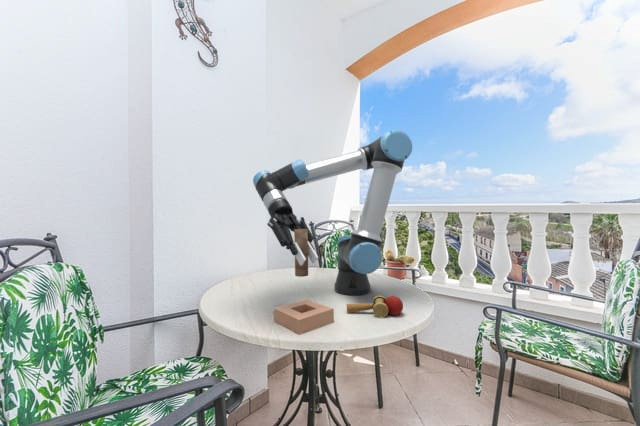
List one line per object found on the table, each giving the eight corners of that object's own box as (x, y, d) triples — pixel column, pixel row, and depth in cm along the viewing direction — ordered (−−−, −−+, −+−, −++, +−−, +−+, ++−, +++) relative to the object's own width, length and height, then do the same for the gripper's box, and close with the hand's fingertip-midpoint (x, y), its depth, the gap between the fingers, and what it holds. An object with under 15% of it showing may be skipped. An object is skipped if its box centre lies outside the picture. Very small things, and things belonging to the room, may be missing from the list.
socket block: (307, 311, 98) (306, 299, 98) (333, 321, 88) (333, 308, 88) (274, 321, 89) (273, 308, 89) (299, 334, 79) (299, 319, 79)
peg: (302, 273, 91) (302, 228, 91) (310, 275, 88) (310, 229, 88) (292, 275, 88) (291, 229, 88) (300, 277, 85) (299, 229, 85)
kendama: (347, 322, 91) (406, 316, 88) (344, 301, 92) (402, 295, 90) (349, 317, 99) (403, 312, 96) (346, 298, 100) (399, 292, 97)
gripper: (294, 213, 105) (324, 265, 93) (251, 214, 94) (280, 273, 82) (302, 198, 101) (336, 250, 89) (259, 197, 90) (290, 256, 78)
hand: (309, 261), depth 85 cm, fingers closed on peg, 4 cm apart
